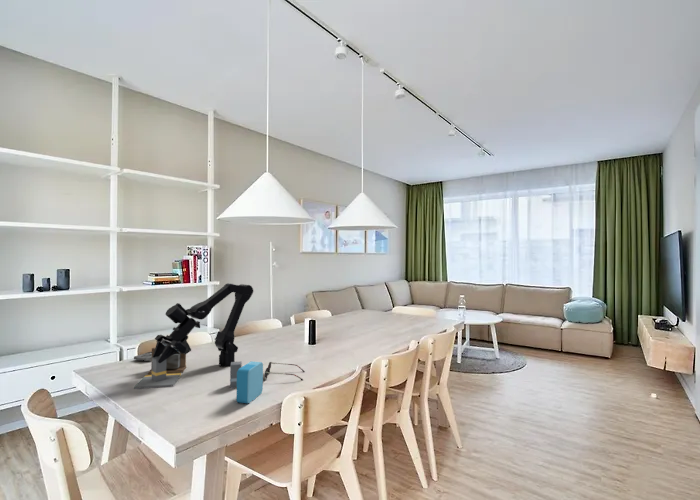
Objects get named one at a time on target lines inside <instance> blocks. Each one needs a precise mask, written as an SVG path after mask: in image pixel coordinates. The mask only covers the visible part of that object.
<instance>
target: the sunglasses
mask: <svg viewBox="0 0 700 500" xmlns="http://www.w3.org/2000/svg"><path fill="white" fill-rule="evenodd" d="M272 364H273V365H275V364H277V365H285V366H286V365H287V366H295V367H297V368H299V369H300V370H302V371H301V372H302V373H306V371H305V370H304V369H303V368H302V367H301V366H299V365H298V364H292V363H282V362H281V363H279V362H272V361H270V362H269V363H268V365H267V367H266V368H265V370H264V377H265V380H267V379H268V377H269V376H268V375H270V374H276V375H287V376H288V375H290V376H295V377H296V378H298V379H300V380H301V381H304V379H303V378H302V377H300V376H298V375H296V374H294V373H286V372H285V373H283V372H272V371H271V368H272Z"/></svg>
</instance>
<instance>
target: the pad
mask: <svg viewBox="0 0 700 500" xmlns="http://www.w3.org/2000/svg"><path fill="white" fill-rule="evenodd" d="M181 376H182V373H166V380H162V381H158V382H155V381H153V380H152V374H145V375H144V376H143V377H142V378H141V379H140V380H139V381H138V382H137V384H135V385H134V387H133V389H134V390H138V389H151V388H152V389H153V388H154V389H155V388H169V387H175V384H177V382H178V380H179V379H180V377H181Z"/></svg>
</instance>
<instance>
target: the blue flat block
mask: <svg viewBox="0 0 700 500" xmlns="http://www.w3.org/2000/svg"><path fill="white" fill-rule="evenodd" d="M263 378H264V364H263V362H261V361H249V362H248V363H246V364H244V365H243V366H242V367H241V368H239V369H238V371H237V388H236V397H235V398H236V402H237V403H239V404H248V403H249V404H251V403H252V402H253V401H254V400H255V399H256V397H257V396H258V397H259V396H261V394H262V393H263V389H264V388H263V386H264V385H263V384H264V379H263ZM258 397H257V398H258ZM252 400H253V401H252ZM251 401H252V402H251ZM250 402H251V403H250Z"/></svg>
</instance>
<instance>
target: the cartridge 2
mask: <svg viewBox="0 0 700 500" xmlns="http://www.w3.org/2000/svg"><path fill="white" fill-rule="evenodd" d="M242 363H243V362H242V361H235V362H231V365H230V366H229V367H230V377H229V387H230V389H233V388H235V387H237V371H238V369H239V368H241V367H243V366H242Z"/></svg>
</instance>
